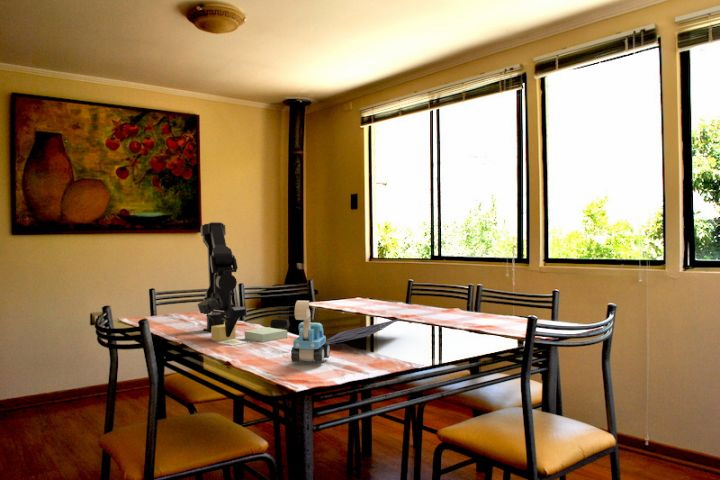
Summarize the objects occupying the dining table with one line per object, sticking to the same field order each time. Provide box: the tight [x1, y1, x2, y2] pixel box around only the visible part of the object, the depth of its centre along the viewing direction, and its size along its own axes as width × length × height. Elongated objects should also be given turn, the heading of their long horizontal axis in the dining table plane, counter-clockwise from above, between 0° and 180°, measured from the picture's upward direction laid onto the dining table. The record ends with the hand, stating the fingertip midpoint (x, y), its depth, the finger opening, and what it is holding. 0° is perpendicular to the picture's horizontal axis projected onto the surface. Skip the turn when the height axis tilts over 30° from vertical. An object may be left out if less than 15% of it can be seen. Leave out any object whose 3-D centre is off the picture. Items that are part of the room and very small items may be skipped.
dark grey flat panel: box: [326, 318, 401, 345], centre depth 177 cm, size 24×30×4 cm
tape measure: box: [269, 318, 291, 330], centre depth 199 cm, size 7×7×4 cm
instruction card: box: [217, 339, 248, 347], centre depth 175 cm, size 8×6×1 cm
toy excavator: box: [290, 300, 331, 363], centre depth 145 cm, size 9×17×17 cm, turn 170°
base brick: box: [244, 326, 288, 343], centre depth 182 cm, size 10×10×3 cm
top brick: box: [210, 323, 236, 342], centre depth 182 cm, size 5×6×4 cm
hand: (223, 336), depth 182 cm, fingers closed on top brick, 5 cm apart
